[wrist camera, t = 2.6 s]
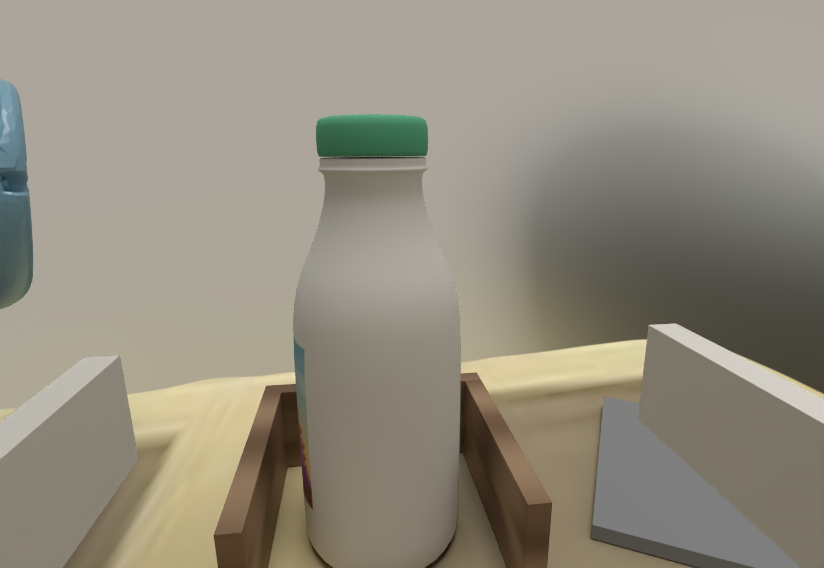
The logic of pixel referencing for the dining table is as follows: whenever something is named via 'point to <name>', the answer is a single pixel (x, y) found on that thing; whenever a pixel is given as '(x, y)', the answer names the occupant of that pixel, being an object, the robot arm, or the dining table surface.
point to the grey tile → (668, 502)
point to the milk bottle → (377, 355)
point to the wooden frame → (479, 441)
